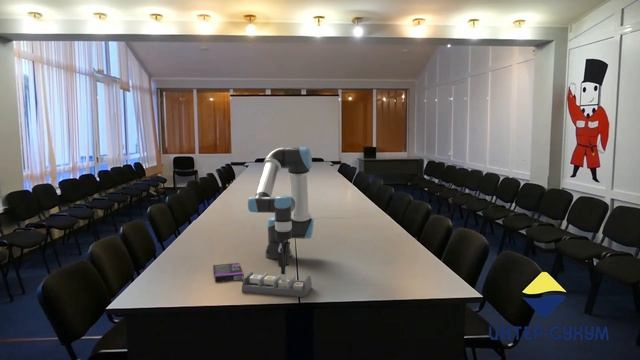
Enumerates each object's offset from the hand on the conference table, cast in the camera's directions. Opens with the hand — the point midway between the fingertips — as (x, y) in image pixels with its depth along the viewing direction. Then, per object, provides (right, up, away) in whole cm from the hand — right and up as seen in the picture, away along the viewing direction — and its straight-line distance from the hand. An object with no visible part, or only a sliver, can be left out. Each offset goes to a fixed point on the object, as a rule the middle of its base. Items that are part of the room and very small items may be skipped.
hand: (284, 280), depth 205 cm
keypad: (-3, -5, +2) cm, 6 cm away
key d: (-7, -2, +2) cm, 7 cm away
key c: (+7, -4, -1) cm, 8 cm away
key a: (0, -3, +1) cm, 3 cm away
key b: (-14, -2, +4) cm, 14 cm away
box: (-31, -3, +23) cm, 39 cm away
